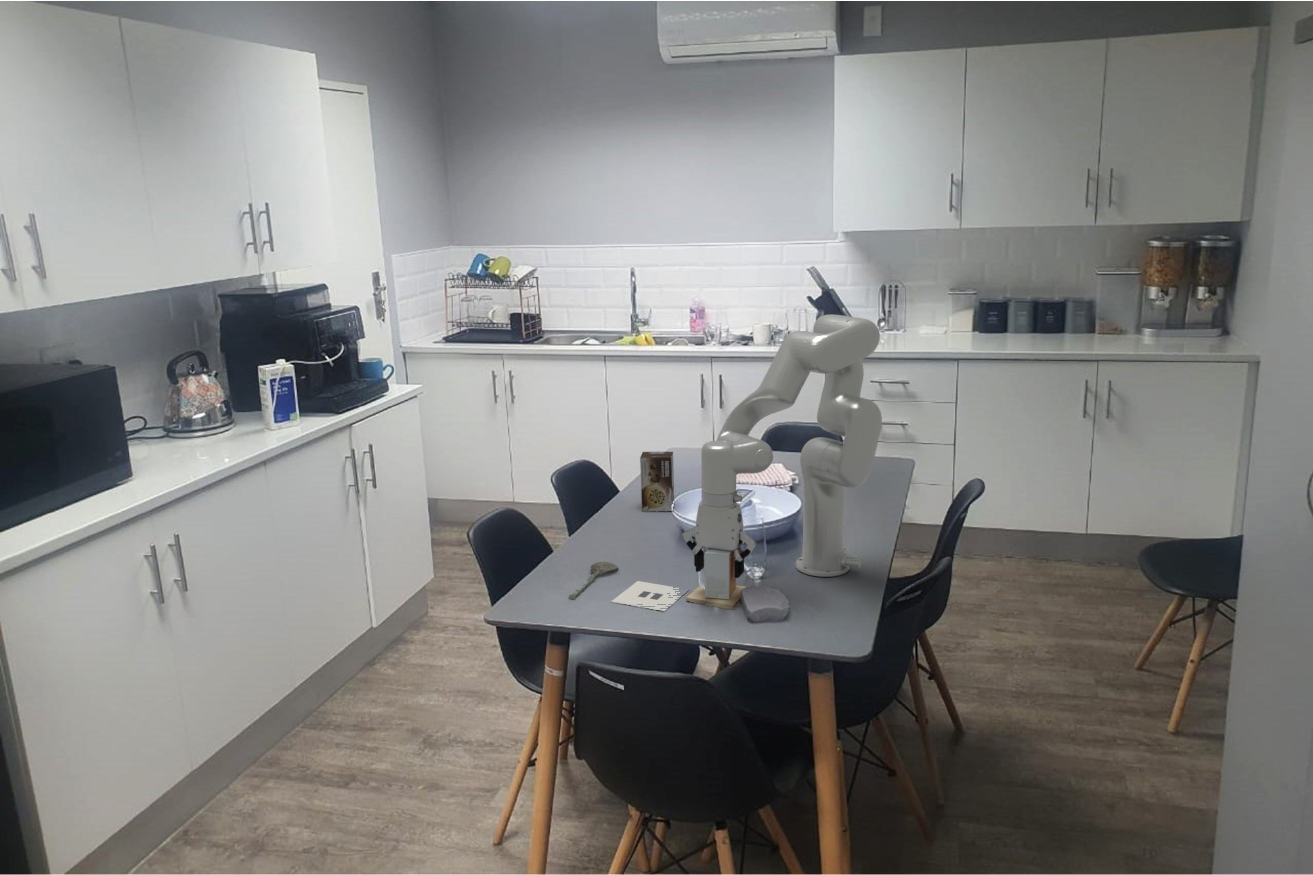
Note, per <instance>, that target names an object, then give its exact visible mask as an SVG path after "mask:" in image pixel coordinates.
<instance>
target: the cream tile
mask: <svg viewBox="0 0 1313 875" xmlns="http://www.w3.org/2000/svg"><path fill="white" fill-rule="evenodd" d="M673 587H674V586H670V585H665V584H658V583H651V582H646V581H639V580H637V581H636V582H634V583H633V584H632V585H630V586H629V587H628V588H627V589H625V590H624V591H623V592H622V593H620V594H619V595H618V596H616V597H615V598H614V599H612V600H611V601H610V603H614V604H617V603H618V605H623V604H627V605H626V606H628V605H631V606H630V607H634V606H638V607H637V608H639V607H640V606H655V607H644V608H643V609H645V608H649V609H648V610H650V609H653V610H652V611H656V610H662V611H665V610H666V611H668V609H660V608H668V607H666V606H671V605H668V604H673V605H674V604H676V603H677V602H678V601H677V600H675V599H679V598H677V597H681V596H673V595H677V593H680V592H676V593H675V591H679V590H673V589H679V588H680V587H676V588H673ZM653 593H656V594H653ZM667 593H670V594H667ZM662 595H663V596H662ZM669 595H671V596H669ZM668 597H673V598H668ZM681 598H682V597H681ZM679 600H680V599H679ZM676 601H677V602H676ZM637 604H643V605H637ZM657 604H666V605H657ZM671 607H672V606H671ZM666 611H665V612H666Z"/></svg>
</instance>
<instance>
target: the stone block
mask: <svg viewBox="0 0 1313 875" xmlns="http://www.w3.org/2000/svg"><path fill="white" fill-rule="evenodd" d="M740 603H741V606H742V609H743V611H744V614H745V617H746V619H747V620H748V621H750V623H752V624H754V622H755V623H765V622H782V621H783V620H784V618H785V617H786V616H787V615H788V613H789V610H790V604H789V603H790V602H789V600H788V598H786V596H785V594H784V593H783V592H782V591H781V590H780V589H778V588H775V587H771V586H764V585H750V586H745V588H743V589H741V602H740Z"/></svg>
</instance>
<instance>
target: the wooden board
mask: <svg viewBox="0 0 1313 875" xmlns="http://www.w3.org/2000/svg"><path fill="white" fill-rule="evenodd" d="M745 587H746V586H744V585H738V584H736V588H735V589H734V591H733V593H732V595H731V597H730V599H718V598H706V597H705V589H704V588H702V587H701V586H700V585H698V586H697V587H696V588H695V589H694V590H693V591H692V592H691V593H690V594H688V595H687V596H686V597H685V602H686V601H690V602H689V603H691V602H694V603H693V604H697V603H700V604H699V605H702V604H708V605H711V606H710V607H714V606H715V608H719V609H724V610H725V609H726V610H731V611H733V610H734V609H735V608H737V607H738V605H740V603H741V589H743V588H745ZM708 605H707V606H708Z"/></svg>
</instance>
